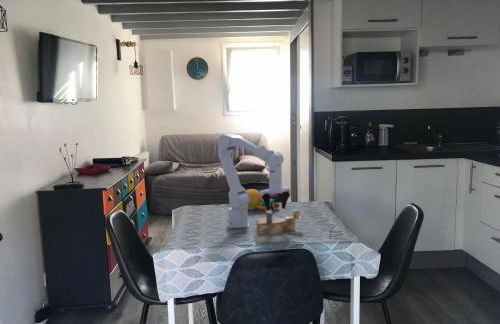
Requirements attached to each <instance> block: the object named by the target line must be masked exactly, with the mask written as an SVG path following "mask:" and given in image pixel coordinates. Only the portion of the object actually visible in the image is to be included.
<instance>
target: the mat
mask: <svg viewBox="0 0 500 324" xmlns="http://www.w3.org/2000/svg"><path fill="white" fill-rule="evenodd" d="M254 238H255V244H258V245H260V244H261V245H262V244H263V243H264V244H284V243H285V244H286V243H290V242H291V241H290V238H289V236H288V233H286V232H283V233H271V234H258V233H256V234H255V233H254Z"/></svg>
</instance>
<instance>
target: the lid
mask: <svg viewBox="0 0 500 324" xmlns="http://www.w3.org/2000/svg"><path fill="white" fill-rule="evenodd" d="M265 213H266V215H265V216H266V217H258V218H256V225H257V224H258V225H279V224H282V220H281V219H282V218H281V217H273V212H272V211H271V210H270V211H267V210H266V211H265Z"/></svg>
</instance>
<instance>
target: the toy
mask: <svg viewBox="0 0 500 324" xmlns="http://www.w3.org/2000/svg"><path fill="white" fill-rule="evenodd" d="M245 190H246V192H247V193H248V194H249V196H250V201H249V203H248V206H247V207H248V211H254V210H260V211H265V212H266V206H265V202H264V200H263V198H262V196H261V195H260V190H257V189H255V188H250V189H249V188H248V189H245ZM269 196H270V210H271V212H275V210H274V209H276V210H278V208H279V207H280V203H278V202H277V201H276V199H275V198H271V197H277V196H279V194H269ZM272 209H273V210H272Z"/></svg>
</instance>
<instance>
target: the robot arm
mask: <svg viewBox="0 0 500 324" xmlns="http://www.w3.org/2000/svg"><path fill="white" fill-rule="evenodd" d="M216 143H217V146H218V149H217V156H218V158H219V161H220V165H221V167H222V170H223V172H224V176H225V178H226V182H227V184H228V187H229V192H228V199H229V201H228V203H229V205H230V207H228V209H227V210H228V219H227V223H228V228H229V229H235V228H236V229H237V228H239V229H240V228H242V229H243V228H250V224H249V217H248V216H249V215H248V214H249V213H248V212H249V210H248V207H247V206H248V203H249V201H250V196H249V194H248V193H247V192H246V190H247V189H246V188H245V187H243V186H242V184H241V181H240V179H239V176H238V173H237V172H238V171H236V167H235V164H234V161H233V159H232V156H231V154H232V153H233V152H234V149H236V147H241V148H243V149H245V150H247V151H249V152H252V153H253V155H254V157H256V158H258V159H260V160H261V161H263V162H265V163H266V164H267V166H268V188H266V189H261V190H259V192H260V195H261V196H262V198H263V200H264V202H265V206H266V210H267V211H270V198H271V197H270V195H272V194H275V195H279V194H280V197H281V198H280V199H281V209H283V210H285V209H286V207H287V206H286V205H287V202H288V200H289V198H290V195H291V193H292V188H290V187H283V184H282V183H283V180H282V175H283V173H282V164H283V162H284V156H283V154H281V153H280V151H279V152H278V151H277V152H275V151H274V150H273V149H272V150H271V149H269V148H267V147H266V145H264V144H263V145H262V144H261V145H258V146H257V145H255V144H254V143H252V142H250V141H249V140H247V139H246V138H244V137H242V136H241V135H240V134H237V133H235V132H234V133H228V134H221V135H220V136H219V138H218V139H217V141H216Z"/></svg>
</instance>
